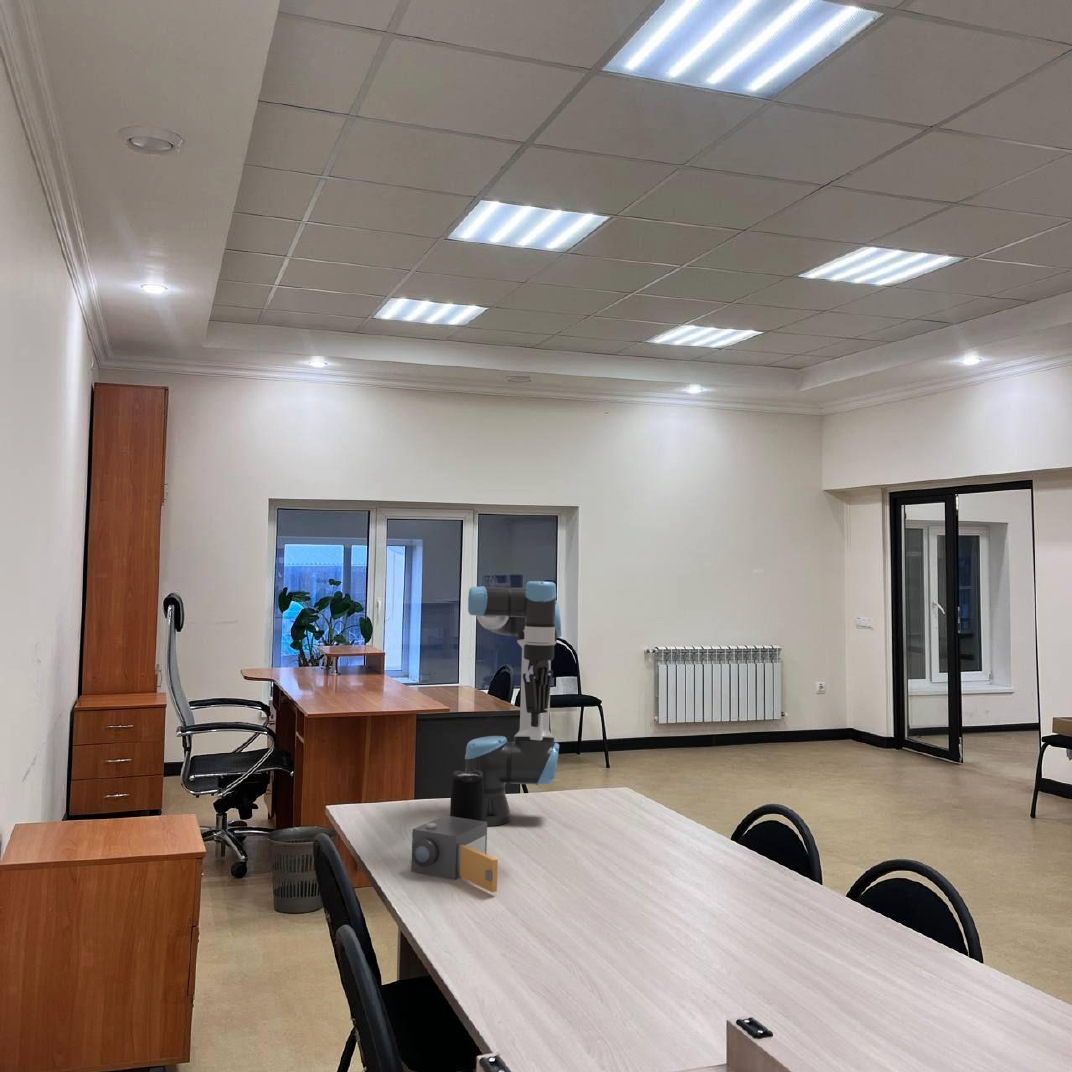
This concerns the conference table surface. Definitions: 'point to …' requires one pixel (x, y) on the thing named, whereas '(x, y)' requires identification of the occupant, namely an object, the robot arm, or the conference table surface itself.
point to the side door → (477, 867)
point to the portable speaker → (467, 795)
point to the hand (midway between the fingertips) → (536, 739)
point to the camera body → (445, 845)
